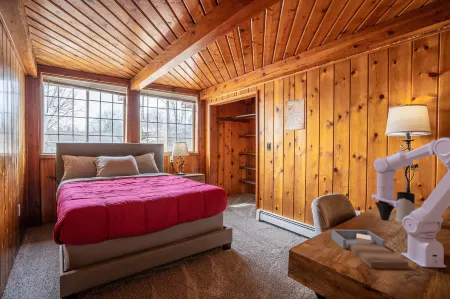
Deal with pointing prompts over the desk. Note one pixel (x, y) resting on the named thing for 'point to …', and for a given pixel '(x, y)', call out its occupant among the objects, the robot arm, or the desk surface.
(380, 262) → the platform
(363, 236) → the tile
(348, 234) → the box
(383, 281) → the desk surface
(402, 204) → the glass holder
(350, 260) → the desk surface
